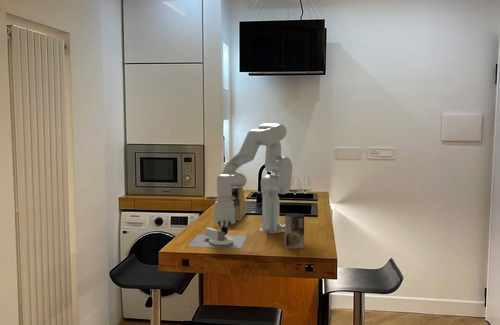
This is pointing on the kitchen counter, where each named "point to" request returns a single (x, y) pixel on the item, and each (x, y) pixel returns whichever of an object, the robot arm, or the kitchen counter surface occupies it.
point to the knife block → (239, 203)
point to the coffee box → (294, 230)
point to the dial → (217, 237)
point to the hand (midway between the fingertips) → (224, 234)
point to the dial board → (204, 242)
